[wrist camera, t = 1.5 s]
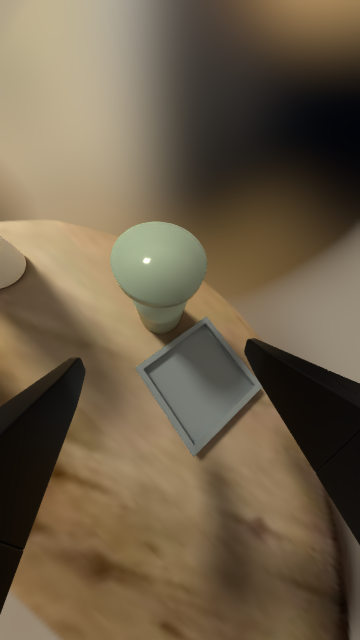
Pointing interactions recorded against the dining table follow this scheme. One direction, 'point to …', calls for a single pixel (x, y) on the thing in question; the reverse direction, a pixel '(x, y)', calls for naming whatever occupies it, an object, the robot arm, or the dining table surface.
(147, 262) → the sage green mushroom knob
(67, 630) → the dining table surface
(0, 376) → the dining table surface
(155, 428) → the dining table surface
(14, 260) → the white milk bottle
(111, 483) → the dining table surface
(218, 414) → the tray
